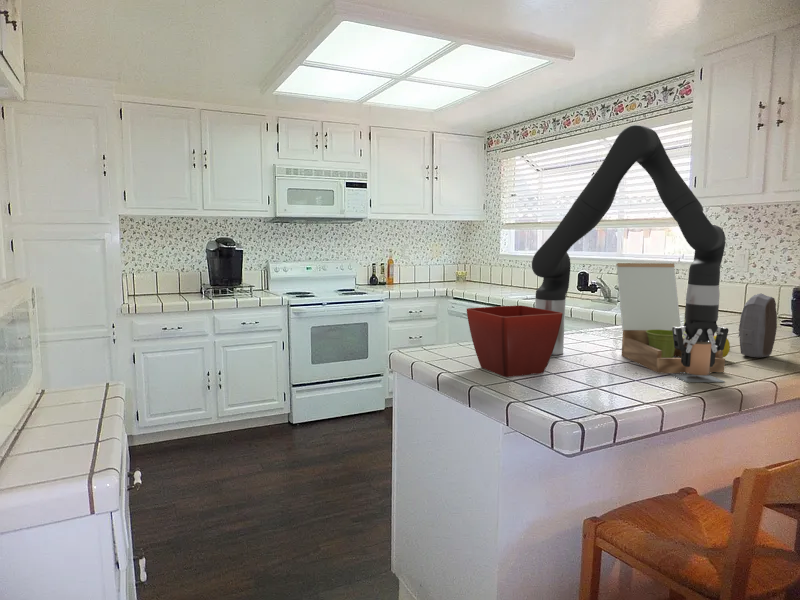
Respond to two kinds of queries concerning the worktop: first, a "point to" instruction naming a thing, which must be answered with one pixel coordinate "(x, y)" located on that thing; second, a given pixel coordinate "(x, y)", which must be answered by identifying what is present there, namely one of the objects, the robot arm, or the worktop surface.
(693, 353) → the tan cylinder
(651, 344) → the plant pot
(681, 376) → the mat
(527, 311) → the plant pot
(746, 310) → the soft grey pack
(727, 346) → the lemon
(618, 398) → the worktop surface
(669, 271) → the propped lid
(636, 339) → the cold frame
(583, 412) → the worktop surface
